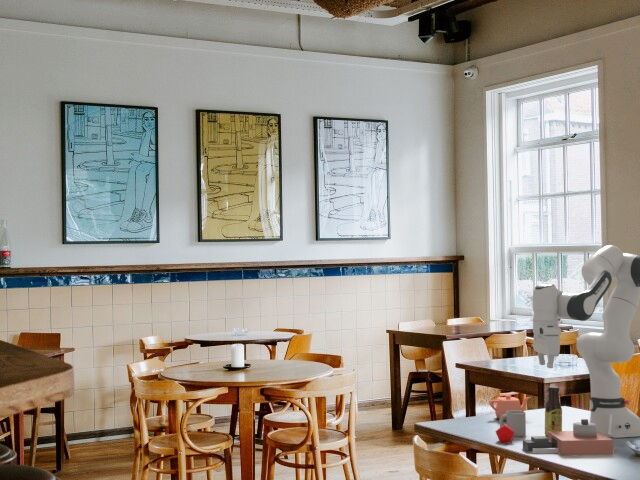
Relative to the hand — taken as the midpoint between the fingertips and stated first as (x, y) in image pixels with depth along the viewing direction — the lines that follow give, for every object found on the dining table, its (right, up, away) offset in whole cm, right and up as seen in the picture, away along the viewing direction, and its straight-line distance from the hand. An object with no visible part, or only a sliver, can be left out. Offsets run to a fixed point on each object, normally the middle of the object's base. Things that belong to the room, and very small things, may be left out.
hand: (546, 366), depth 298 cm
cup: (-7, -30, +21) cm, 37 cm away
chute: (-5, -29, -6) cm, 30 cm away
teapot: (-1, -31, +53) cm, 61 cm away
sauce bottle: (+6, -30, +11) cm, 32 cm away
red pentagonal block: (-13, -30, +9) cm, 34 cm away
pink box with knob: (+6, -29, -6) cm, 30 cm away
